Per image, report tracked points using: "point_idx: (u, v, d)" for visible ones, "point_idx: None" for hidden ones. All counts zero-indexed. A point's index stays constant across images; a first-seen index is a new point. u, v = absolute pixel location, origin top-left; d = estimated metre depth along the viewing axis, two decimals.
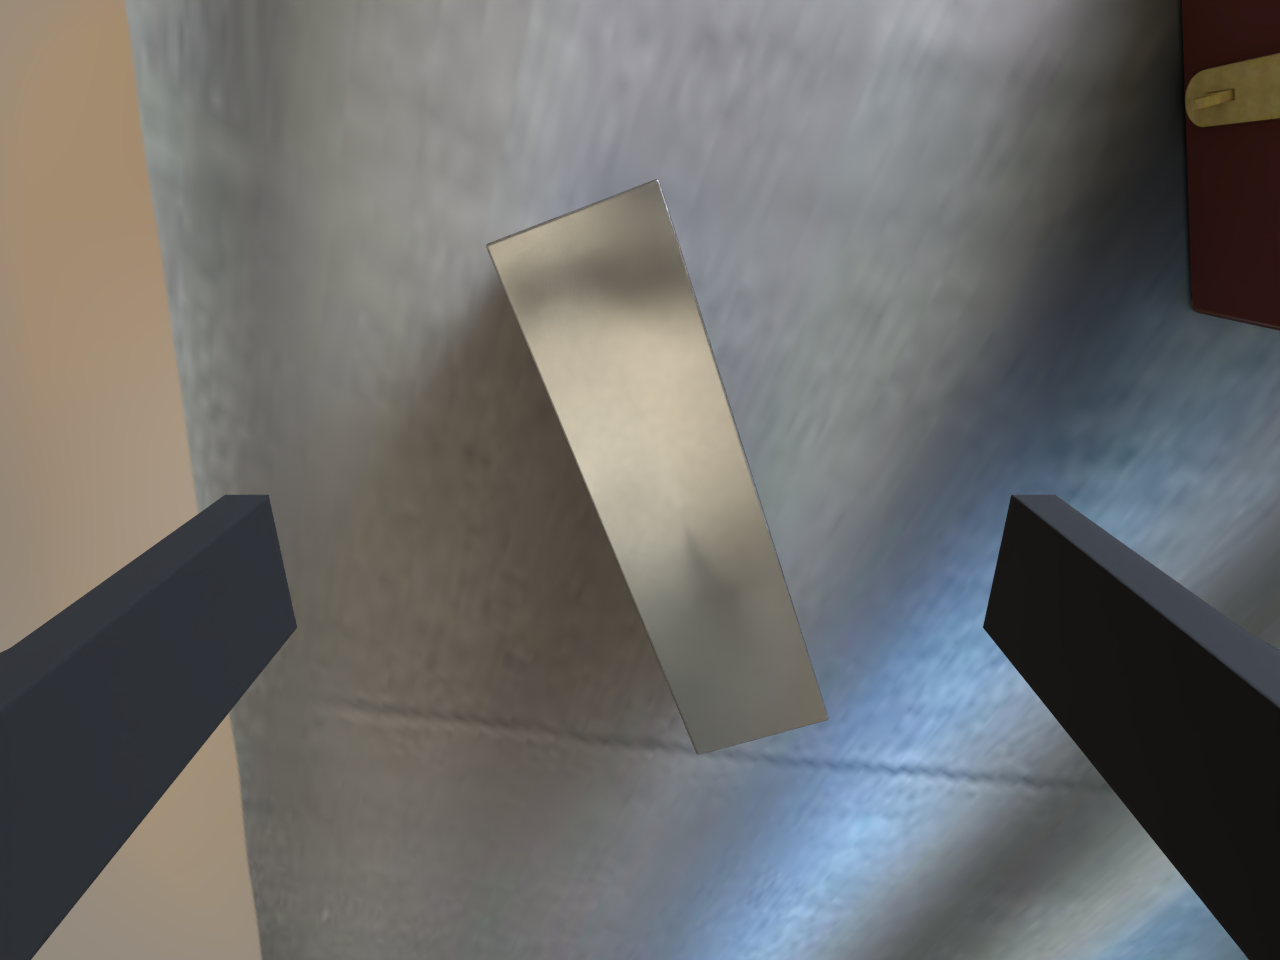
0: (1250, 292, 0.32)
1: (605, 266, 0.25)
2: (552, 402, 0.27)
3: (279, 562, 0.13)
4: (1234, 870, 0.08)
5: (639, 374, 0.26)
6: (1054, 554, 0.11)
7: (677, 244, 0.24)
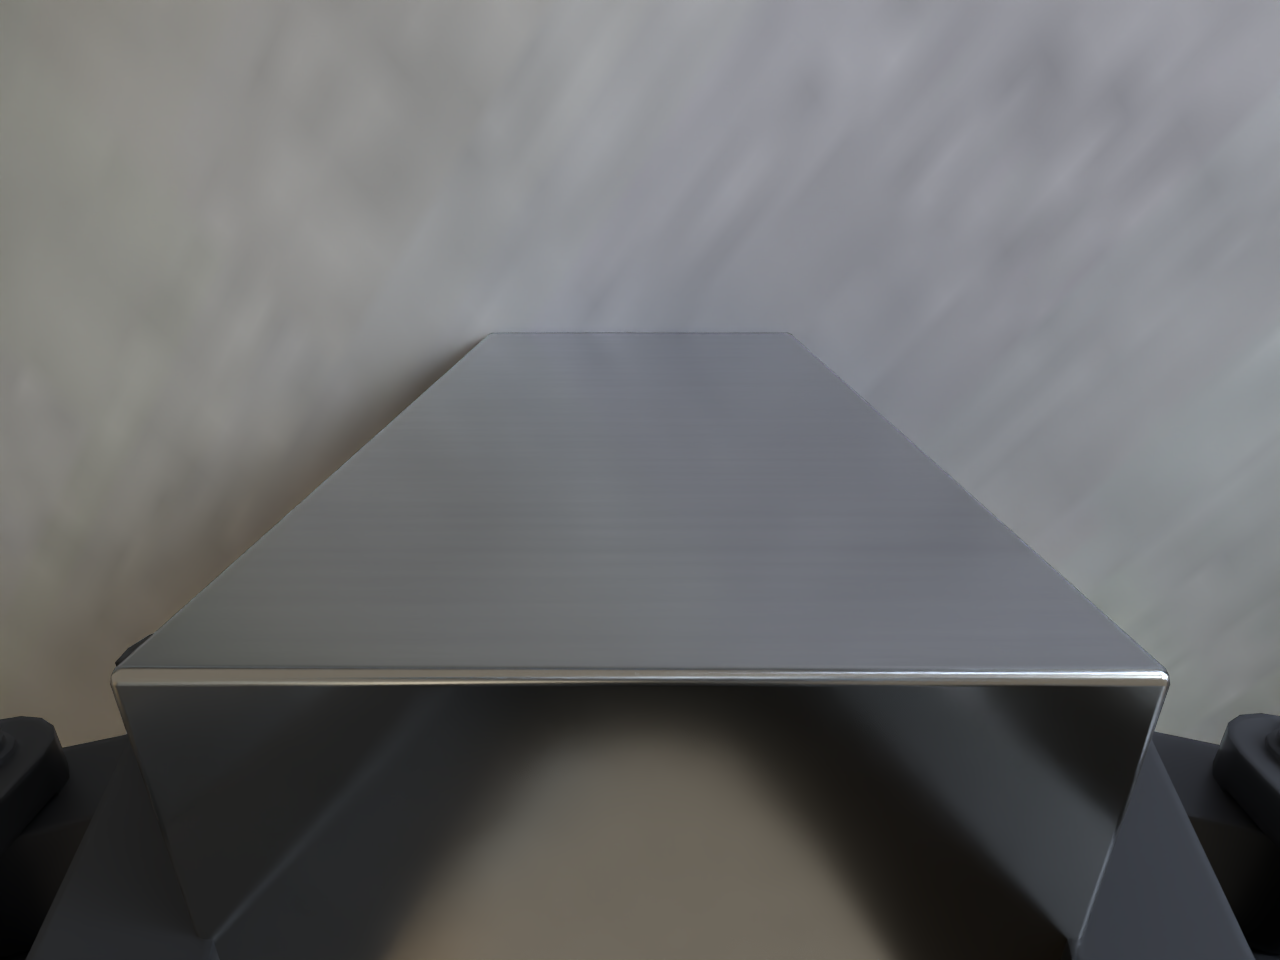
0: None
1: (712, 919, 0.05)
2: None
3: None
4: None
5: None
6: None
7: (1083, 933, 0.05)
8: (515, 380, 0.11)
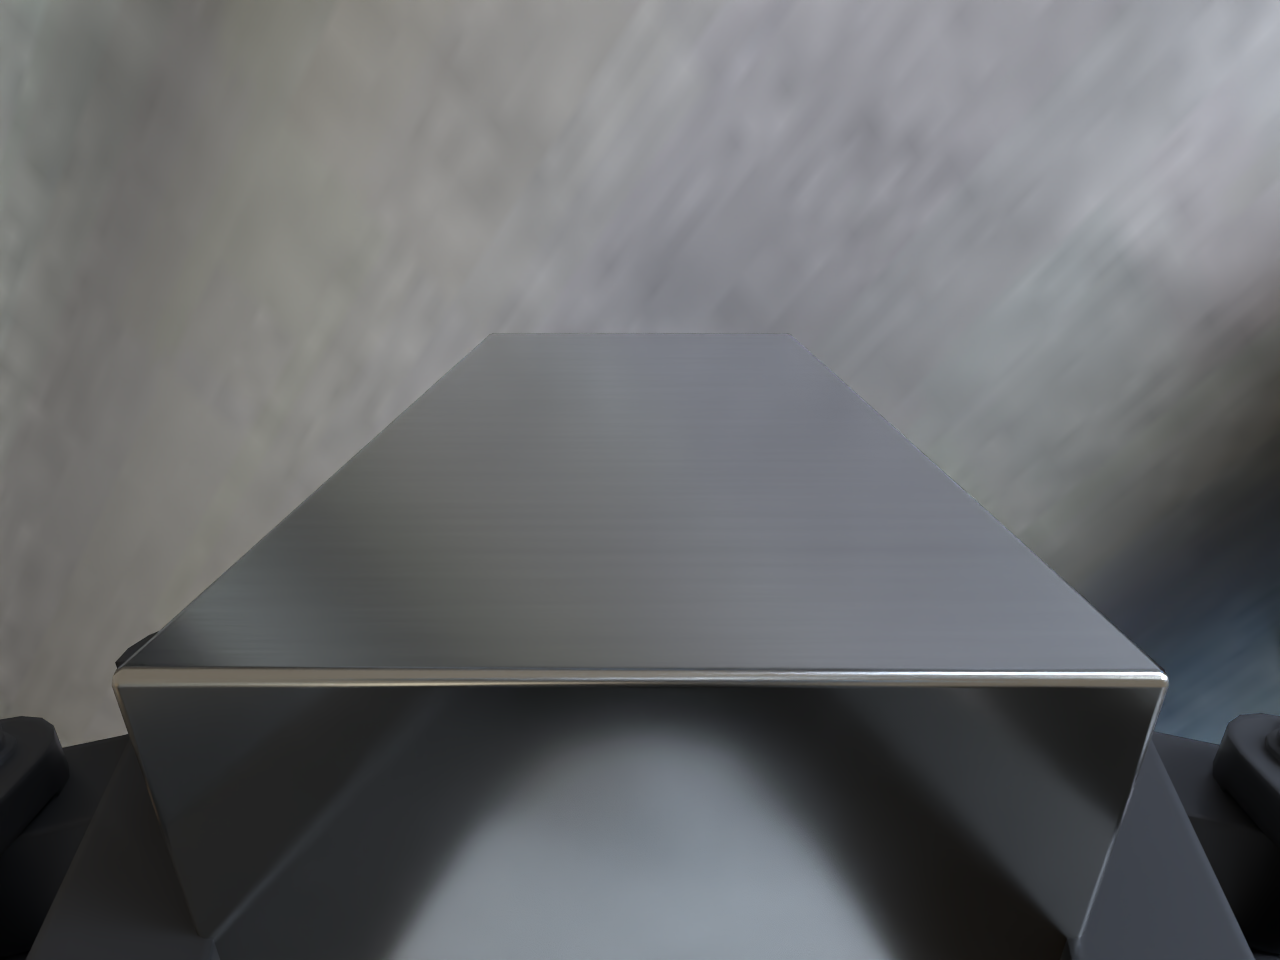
0: None
1: (713, 919, 0.05)
2: None
3: None
4: None
5: None
6: None
7: (1082, 934, 0.05)
8: (515, 380, 0.11)
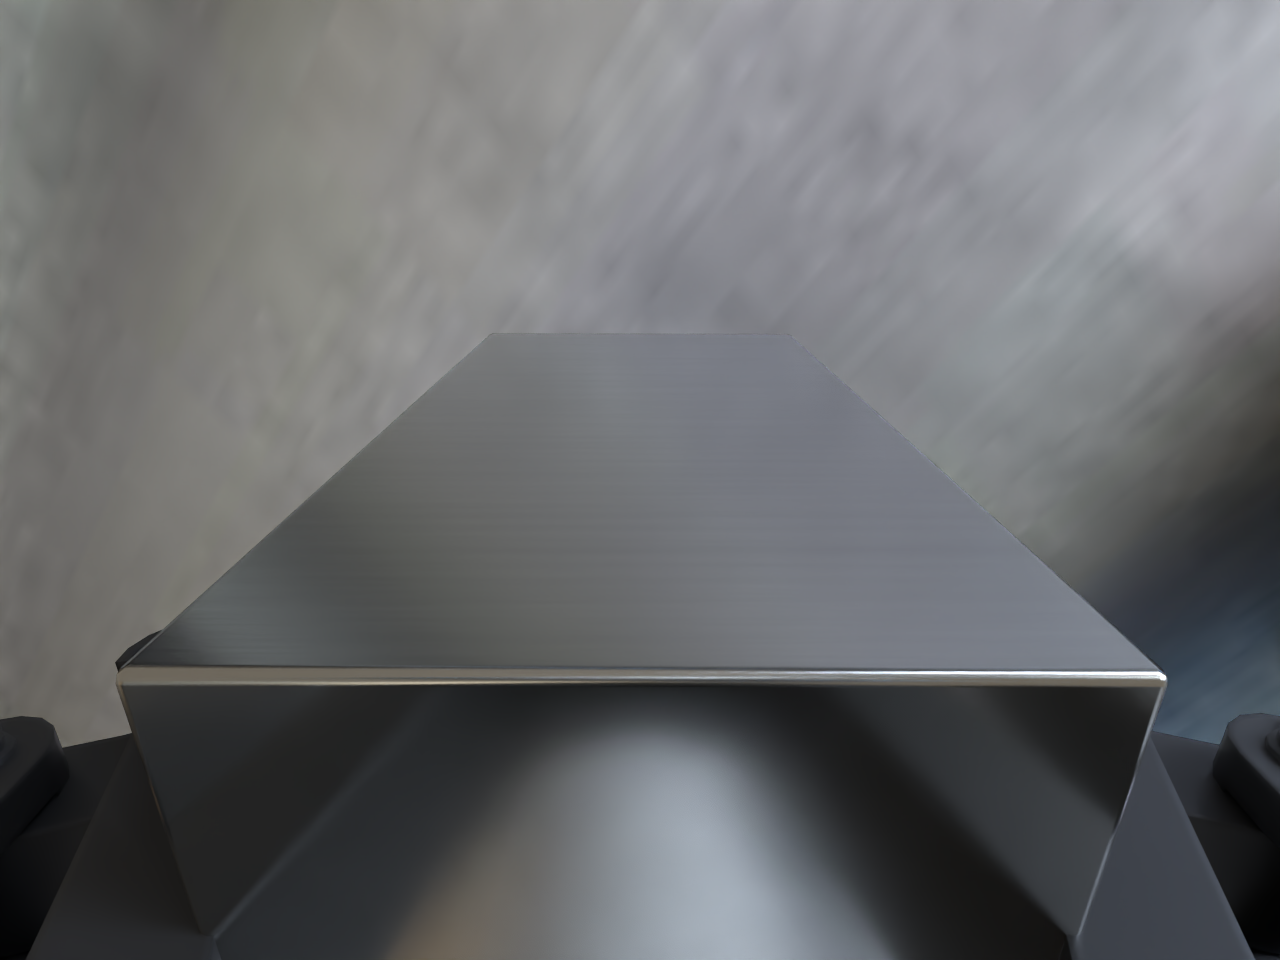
0: None
1: (714, 919, 0.05)
2: None
3: None
4: None
5: None
6: None
7: None
8: (515, 381, 0.11)
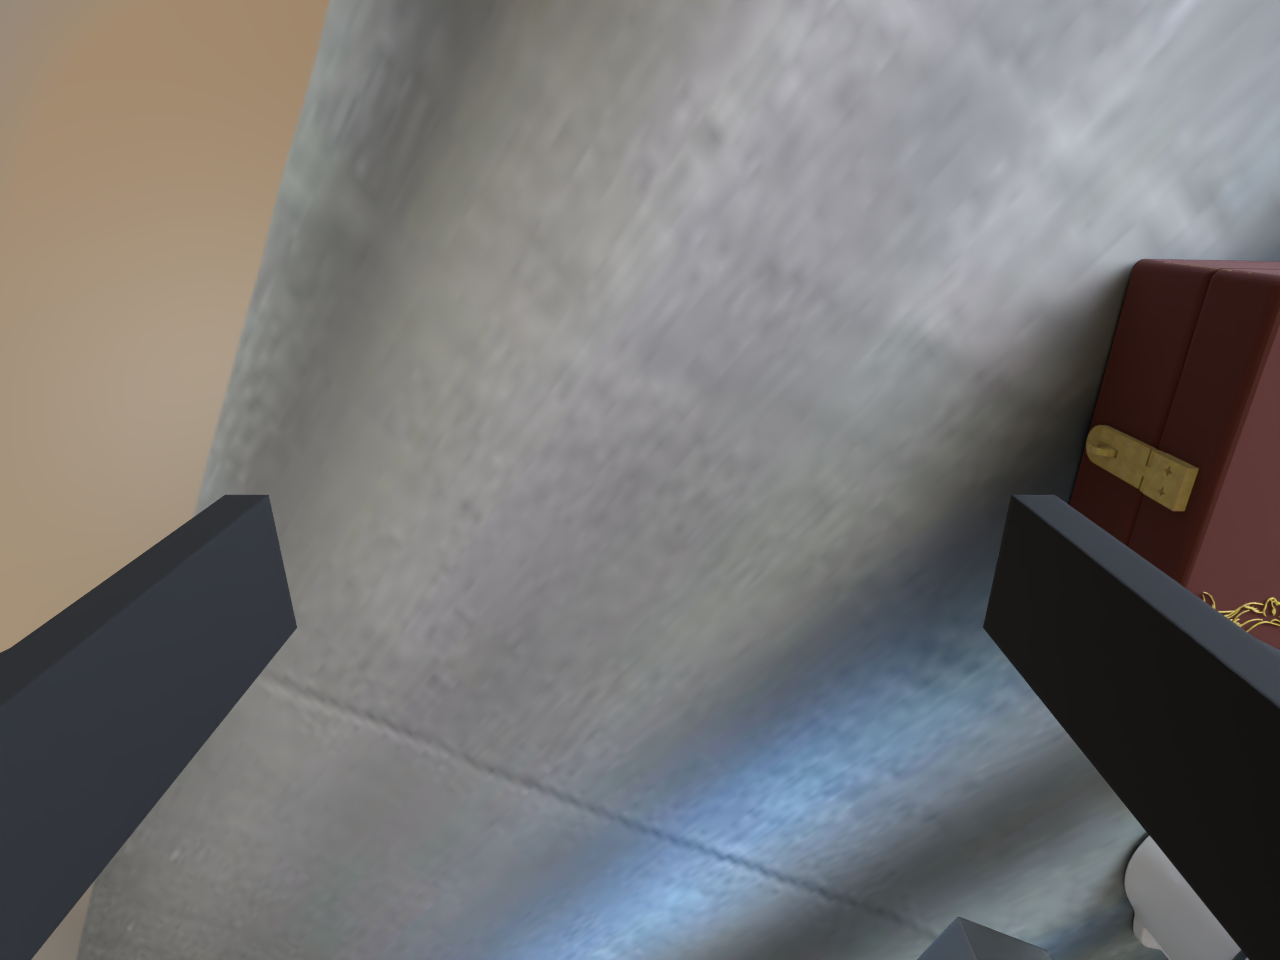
0: None
1: None
2: None
3: (280, 562, 0.13)
4: (1234, 870, 0.08)
5: None
6: (1054, 555, 0.11)
7: None
8: None
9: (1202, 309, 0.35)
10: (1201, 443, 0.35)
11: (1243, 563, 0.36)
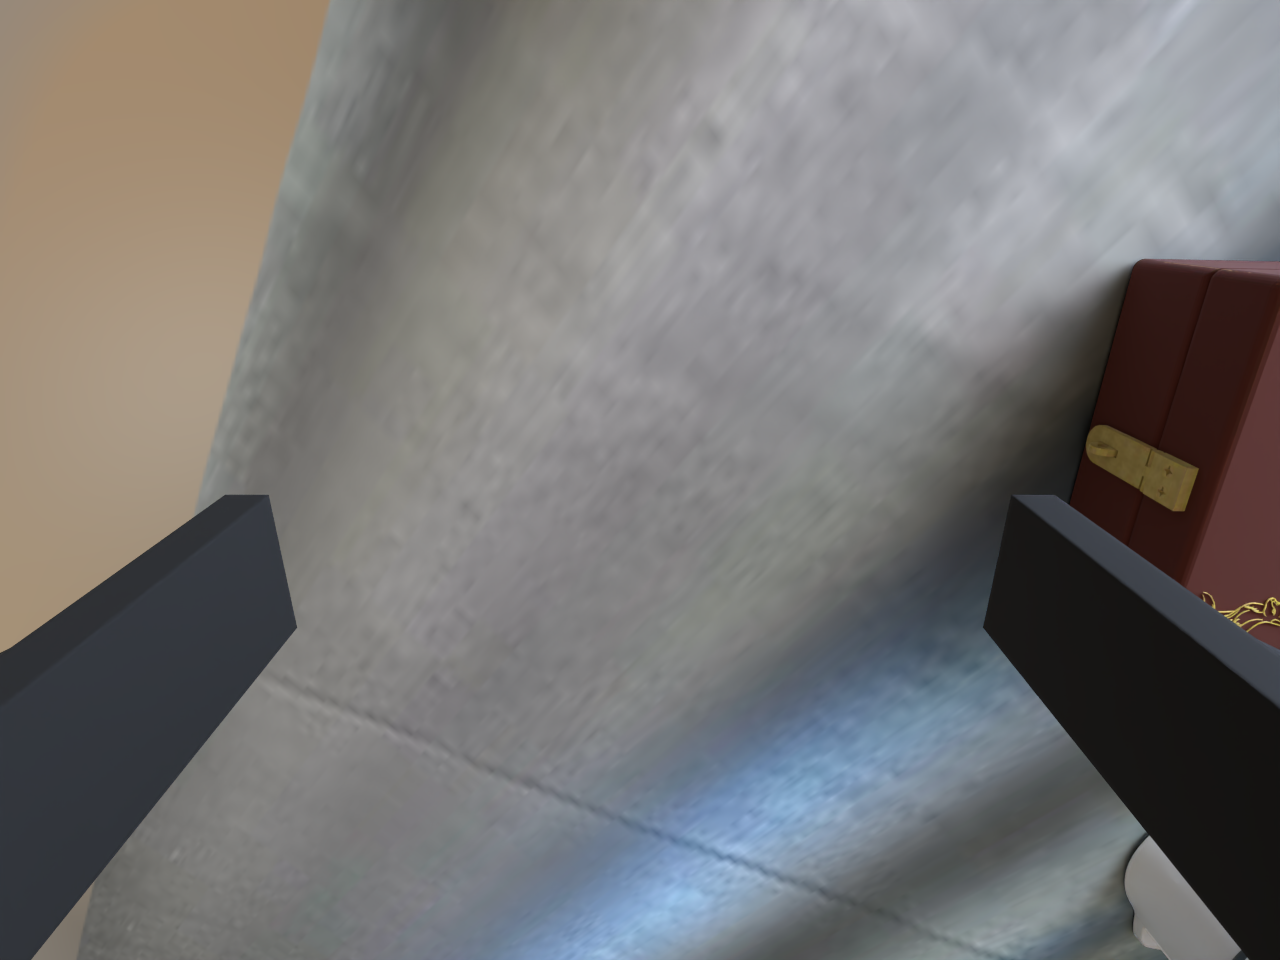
0: None
1: None
2: None
3: (280, 562, 0.13)
4: (1234, 870, 0.08)
5: None
6: (1054, 555, 0.11)
7: None
8: None
9: (1202, 309, 0.35)
10: (1201, 443, 0.35)
11: (1243, 563, 0.36)
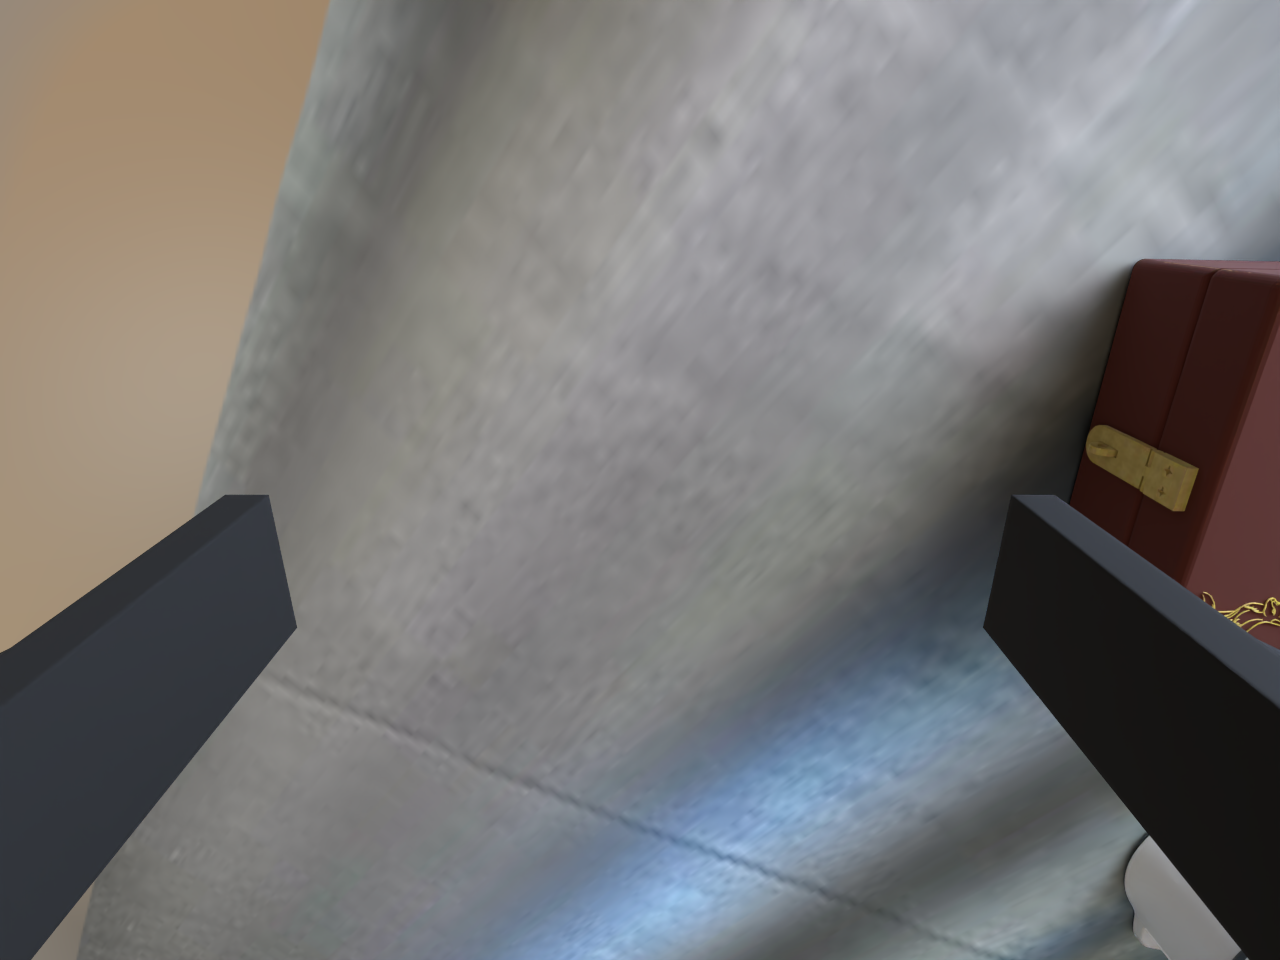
0: None
1: None
2: None
3: (280, 562, 0.13)
4: (1234, 870, 0.08)
5: None
6: (1054, 555, 0.11)
7: None
8: None
9: (1202, 309, 0.35)
10: (1201, 443, 0.35)
11: (1243, 563, 0.36)
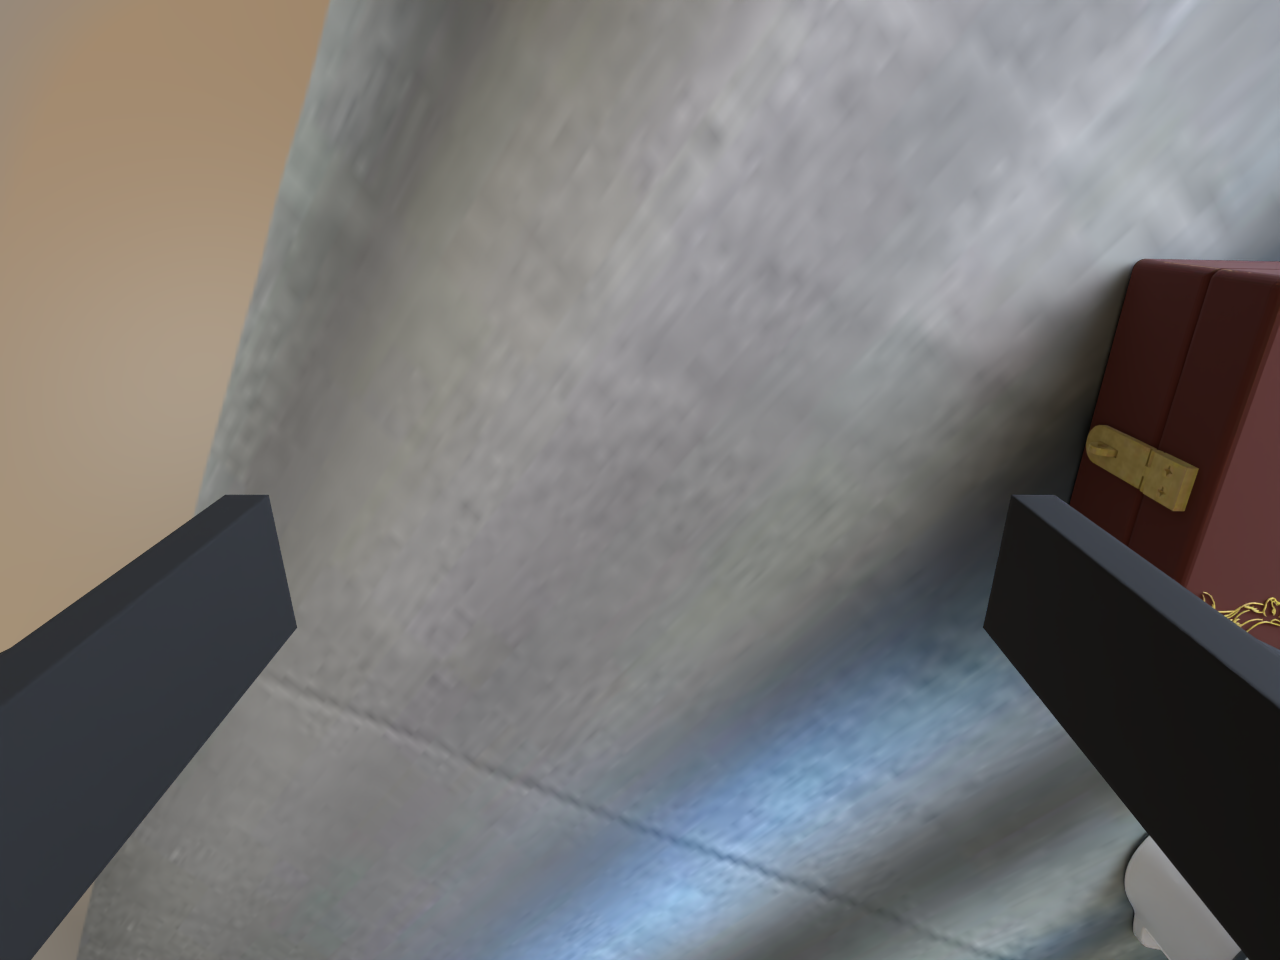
0: None
1: None
2: None
3: (280, 562, 0.13)
4: (1234, 870, 0.08)
5: None
6: (1054, 555, 0.11)
7: None
8: None
9: (1202, 309, 0.35)
10: (1201, 443, 0.35)
11: (1243, 563, 0.36)
